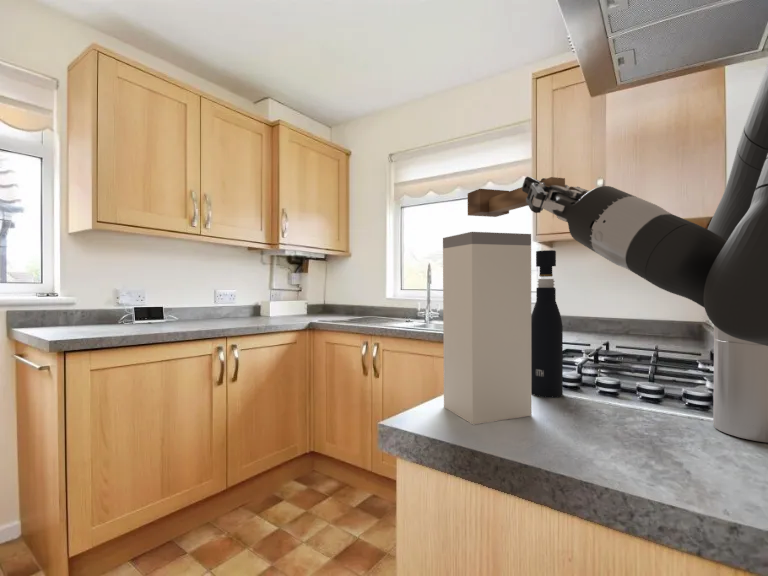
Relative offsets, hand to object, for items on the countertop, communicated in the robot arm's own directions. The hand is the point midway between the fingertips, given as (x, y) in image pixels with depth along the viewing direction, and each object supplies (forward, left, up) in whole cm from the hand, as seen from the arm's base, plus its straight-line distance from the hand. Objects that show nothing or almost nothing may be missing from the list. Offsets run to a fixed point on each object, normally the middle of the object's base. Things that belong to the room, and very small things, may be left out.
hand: (533, 184), depth 61 cm
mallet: (-2, -4, -3) cm, 5 cm away
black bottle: (-24, -10, -39) cm, 46 cm away
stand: (-5, -12, -39) cm, 41 cm away
